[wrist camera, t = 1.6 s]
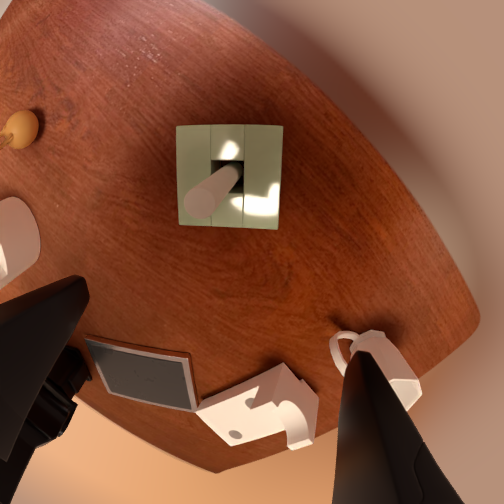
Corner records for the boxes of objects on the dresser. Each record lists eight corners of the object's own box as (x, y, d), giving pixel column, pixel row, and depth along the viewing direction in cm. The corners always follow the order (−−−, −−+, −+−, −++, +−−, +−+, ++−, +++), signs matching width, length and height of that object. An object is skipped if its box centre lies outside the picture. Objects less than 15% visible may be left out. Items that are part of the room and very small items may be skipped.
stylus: (225, 178, 22) (184, 218, 12) (225, 160, 21) (183, 187, 12) (243, 178, 22) (215, 220, 12) (243, 161, 21) (215, 187, 12)
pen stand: (192, 211, 23) (178, 225, 20) (190, 126, 20) (175, 125, 17) (277, 215, 23) (278, 229, 20) (282, 126, 20) (283, 125, 17)
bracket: (284, 357, 30) (271, 401, 23) (318, 397, 30) (313, 443, 23) (205, 395, 34) (181, 432, 27) (238, 429, 34) (221, 467, 27)
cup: (365, 374, 29) (378, 430, 22) (302, 339, 28) (307, 403, 20) (410, 336, 27) (435, 390, 19) (352, 292, 25) (374, 353, 18)
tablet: (110, 388, 35) (108, 393, 34) (87, 334, 31) (83, 338, 30) (199, 408, 34) (198, 413, 33) (189, 353, 30) (187, 359, 29)
